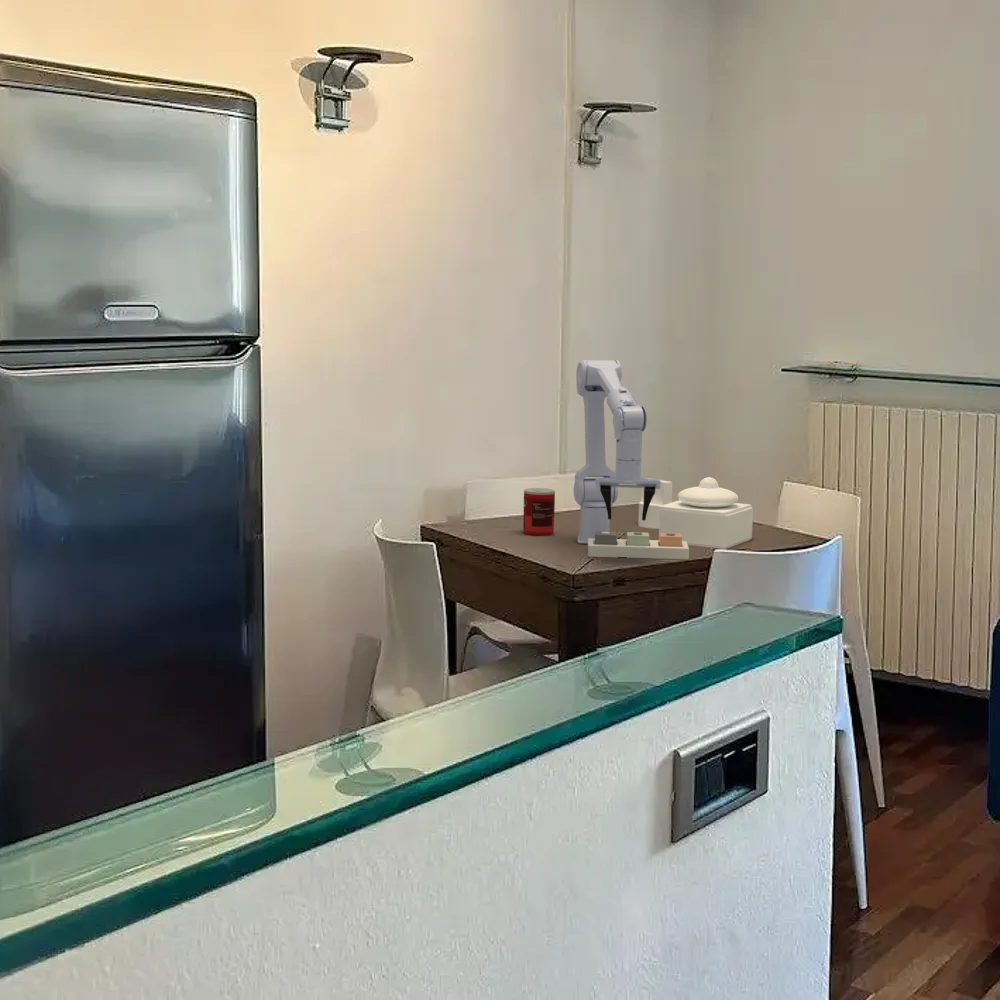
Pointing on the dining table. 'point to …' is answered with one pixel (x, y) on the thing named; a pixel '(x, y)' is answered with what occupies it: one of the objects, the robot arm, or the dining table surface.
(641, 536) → the key sage
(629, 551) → the keypad housing
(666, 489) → the cylinder with rectangular tab
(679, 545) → the key terracotta
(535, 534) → the canned food
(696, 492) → the white block with dome
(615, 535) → the key charcoal
